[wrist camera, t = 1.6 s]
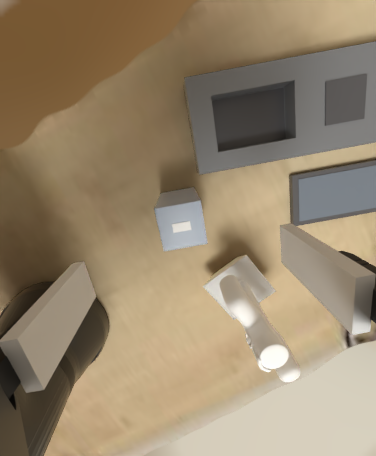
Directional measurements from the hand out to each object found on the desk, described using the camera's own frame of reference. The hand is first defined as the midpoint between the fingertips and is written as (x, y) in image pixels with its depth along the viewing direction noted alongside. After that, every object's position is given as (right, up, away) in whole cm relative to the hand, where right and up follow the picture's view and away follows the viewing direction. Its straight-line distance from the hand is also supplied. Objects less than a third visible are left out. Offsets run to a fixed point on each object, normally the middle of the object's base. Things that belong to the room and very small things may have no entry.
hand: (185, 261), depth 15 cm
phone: (+21, +7, +16) cm, 28 cm away
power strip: (+15, +17, +13) cm, 26 cm away
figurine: (+7, -5, +20) cm, 21 cm away
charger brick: (-1, +5, +16) cm, 17 cm away
